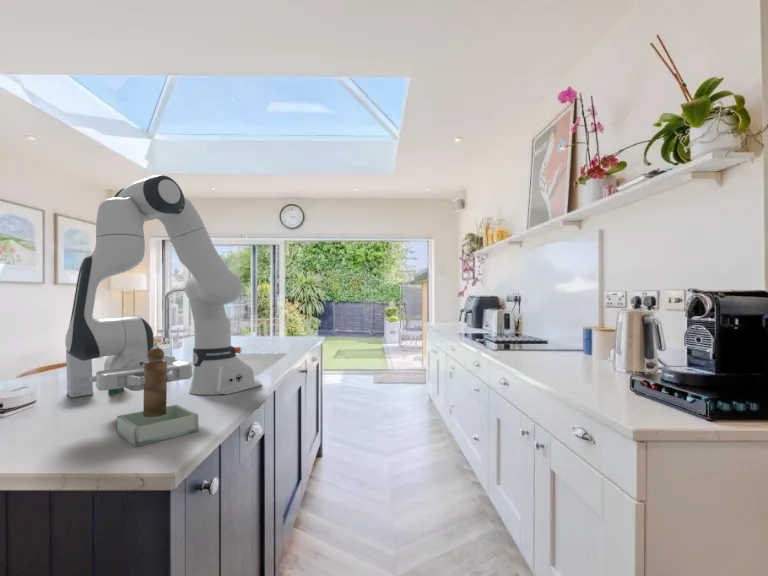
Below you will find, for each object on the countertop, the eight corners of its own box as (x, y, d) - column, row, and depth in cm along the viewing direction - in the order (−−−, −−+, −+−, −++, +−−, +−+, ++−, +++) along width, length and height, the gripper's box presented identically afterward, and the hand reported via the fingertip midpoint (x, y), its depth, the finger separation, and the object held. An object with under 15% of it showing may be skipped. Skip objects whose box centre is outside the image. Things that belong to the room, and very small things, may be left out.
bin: (176, 419, 104) (176, 404, 104) (198, 431, 95) (198, 414, 95) (116, 432, 95) (116, 416, 95) (135, 446, 86) (135, 428, 86)
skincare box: (93, 394, 131) (93, 347, 131) (69, 398, 127) (69, 349, 127) (88, 390, 137) (88, 345, 137) (65, 393, 133) (65, 347, 133)
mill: (162, 410, 98) (163, 345, 99) (169, 414, 95) (170, 347, 96) (140, 414, 95) (141, 347, 95) (147, 418, 92) (148, 349, 92)
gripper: (87, 364, 97) (103, 371, 87) (179, 355, 112) (201, 361, 102) (87, 391, 97) (103, 402, 87) (179, 379, 111) (200, 386, 102)
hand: (156, 379), depth 95 cm, fingers closed on mill, 5 cm apart
